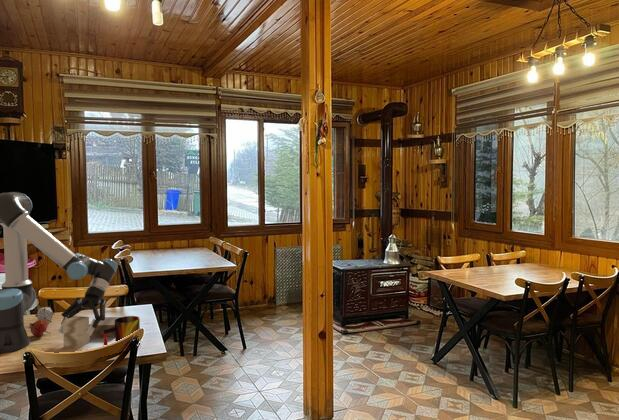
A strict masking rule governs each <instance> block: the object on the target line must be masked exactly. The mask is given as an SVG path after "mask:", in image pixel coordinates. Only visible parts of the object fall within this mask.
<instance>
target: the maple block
mask: <svg viewBox="0 0 619 420" xmlns="http://www.w3.org/2000/svg"><path fill="white" fill-rule="evenodd" d="M62 321H63V334H62V335H63V346H64V347H69V348H71V347H72V348H80V347H82V346H84V345H86V344H89V343H90V341H91V340H90V339H91V338H90V336H89V335H88V334H87V333H86V332H87V330H88V328H89V324H90V316H80V315H74V316H73V317H71V318H68V319H66V320H63V319H62Z"/></svg>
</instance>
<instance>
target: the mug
mask: <svg viewBox="0 0 619 420" xmlns="http://www.w3.org/2000/svg"><path fill="white" fill-rule="evenodd" d="M119 317H120V318H117V319H116V320H115V327H112V328H108V329H104V330H103V331H104V338H103V346H104V345H107V346H108V338H107V333H110V332H114V331H115V339H114V341H118V340H120V339H122V338H124V337H126V336H128V335H130V334H131V333H133V332H134V331H136V330H138V329H141V327H140V324H141V323H140V317H139V316H135V315H126V316H119ZM139 345H140V346H141V342H140V343H139Z"/></svg>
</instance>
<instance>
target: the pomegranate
mask: <svg viewBox="0 0 619 420" xmlns="http://www.w3.org/2000/svg"><path fill="white" fill-rule="evenodd" d="M48 322H49V321H48ZM48 322H47V321H45V320H38V319H37V320H36V321H35V322H33V323H29V325H31V326H30V332H31V334H32V335H33V336H34V337H36V338H37V337H38V338H40V337H42V336H43V335H44V333H48V334H50V335H51V332H49V331H47V330H48V327H49V326H48V325H49V323H48Z"/></svg>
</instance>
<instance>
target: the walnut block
mask: <svg viewBox="0 0 619 420" xmlns="http://www.w3.org/2000/svg"><path fill="white" fill-rule="evenodd" d="M120 317H121V316H105V320H104V321H103V320H101V321H100V322H99V323H98V325H97V327H96V328H95V329H94V331H93V333H92V335H91V336H90V339H96V338H97V339H104V331H103V330H104V329H108V328H112V327H115V320H116V319H117V318H120ZM90 324H91V323H89V326H90ZM109 338H110V339H112V338H113V339H114V338H115V331H114V332H110V333H107V339H109Z"/></svg>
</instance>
